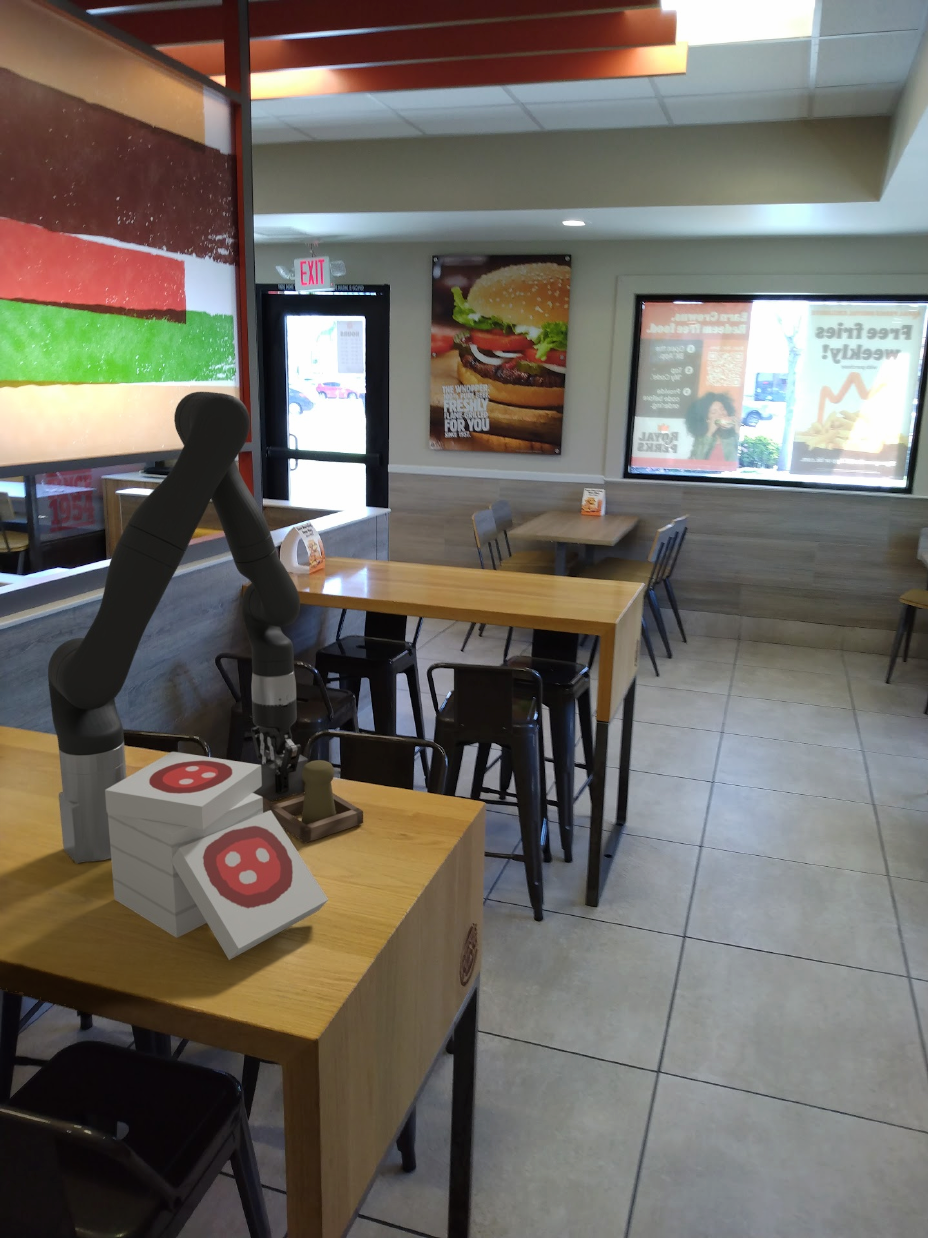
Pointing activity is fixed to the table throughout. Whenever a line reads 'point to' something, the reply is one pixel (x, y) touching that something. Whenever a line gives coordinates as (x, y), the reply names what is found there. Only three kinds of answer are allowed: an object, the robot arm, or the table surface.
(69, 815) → the robot arm
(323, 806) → the cork
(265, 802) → the divided wooden tray frame
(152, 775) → the pizza boxes
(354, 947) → the table surface
